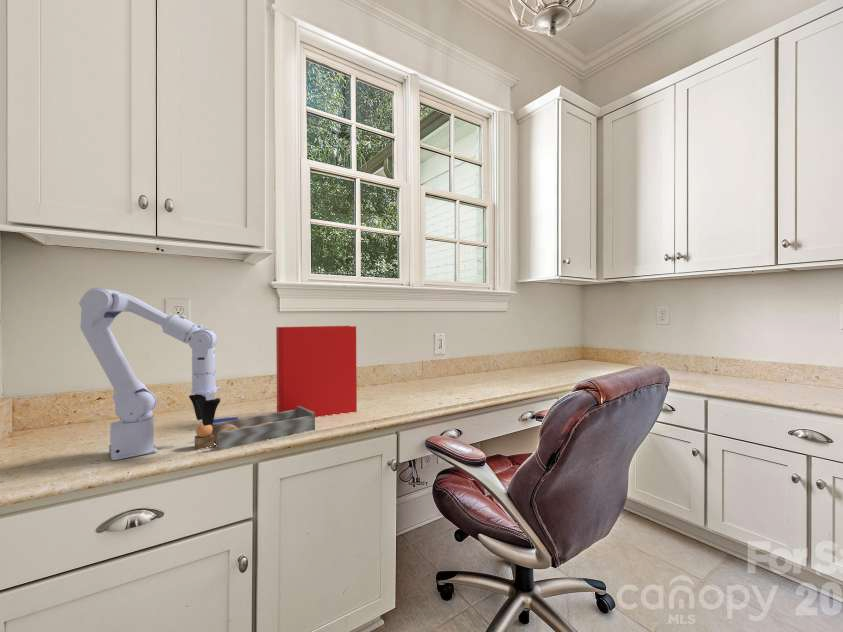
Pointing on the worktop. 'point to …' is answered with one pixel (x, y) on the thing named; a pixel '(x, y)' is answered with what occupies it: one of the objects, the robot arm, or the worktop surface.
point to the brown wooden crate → (204, 441)
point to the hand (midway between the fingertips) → (204, 422)
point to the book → (316, 369)
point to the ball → (204, 430)
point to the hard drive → (224, 419)
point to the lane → (262, 427)
